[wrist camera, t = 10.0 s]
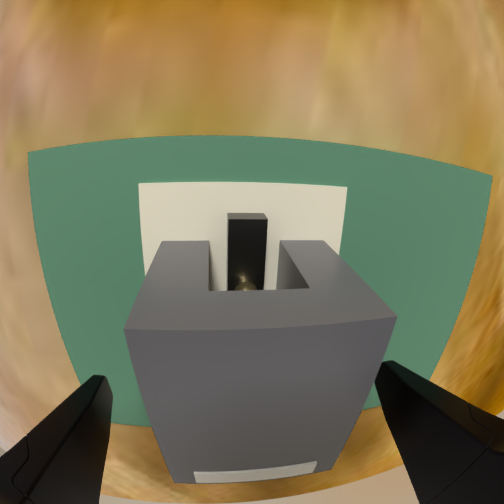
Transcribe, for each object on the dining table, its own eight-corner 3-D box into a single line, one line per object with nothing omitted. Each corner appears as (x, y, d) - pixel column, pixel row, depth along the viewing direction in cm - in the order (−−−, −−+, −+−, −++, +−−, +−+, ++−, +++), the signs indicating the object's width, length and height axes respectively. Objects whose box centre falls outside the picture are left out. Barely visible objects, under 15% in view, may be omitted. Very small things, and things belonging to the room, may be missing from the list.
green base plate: (479, 172, 11) (493, 176, 10) (415, 384, 16) (422, 394, 15) (41, 150, 9) (26, 152, 8) (101, 408, 14) (97, 422, 13)
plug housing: (323, 240, 10) (399, 318, 6) (300, 382, 13) (331, 471, 8) (161, 240, 10) (122, 332, 5) (179, 387, 12) (174, 485, 7)
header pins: (263, 213, 10) (279, 236, 7) (252, 400, 13) (259, 441, 11) (226, 212, 10) (231, 236, 7) (227, 401, 13) (231, 443, 11)
